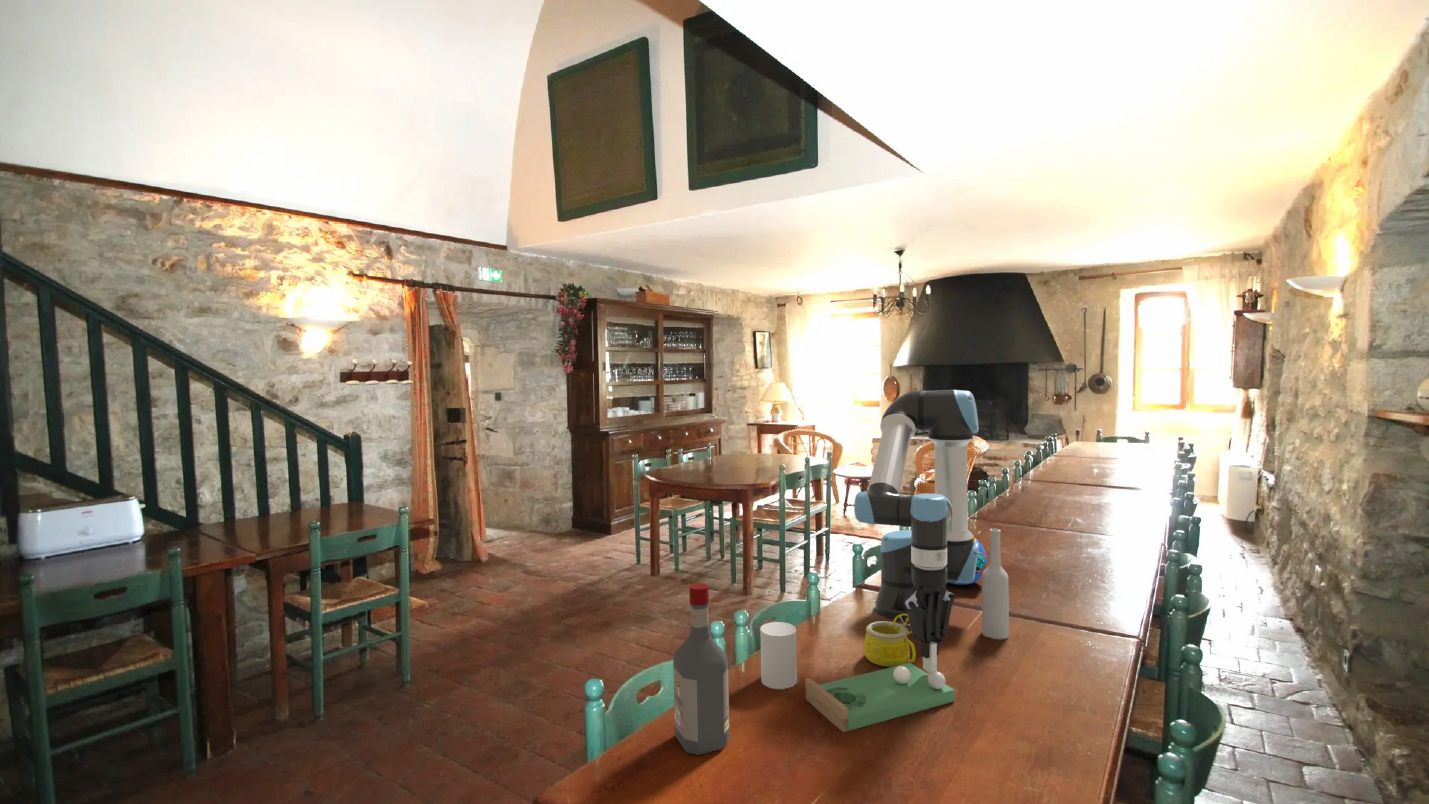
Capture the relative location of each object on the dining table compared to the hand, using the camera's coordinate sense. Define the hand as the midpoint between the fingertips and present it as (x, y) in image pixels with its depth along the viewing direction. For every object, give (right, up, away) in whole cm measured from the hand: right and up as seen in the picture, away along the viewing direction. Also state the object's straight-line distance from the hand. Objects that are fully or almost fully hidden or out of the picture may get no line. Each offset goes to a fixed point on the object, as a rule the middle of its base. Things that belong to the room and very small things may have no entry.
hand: (929, 670), depth 141 cm
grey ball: (-1, 0, -6) cm, 6 cm away
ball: (-7, 0, -3) cm, 8 cm away
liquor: (-50, -6, -19) cm, 54 cm away
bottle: (+27, -2, +28) cm, 39 cm away
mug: (-5, -4, +13) cm, 15 cm away
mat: (-13, -4, -5) cm, 14 cm away
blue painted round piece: (+33, -1, +69) cm, 77 cm away
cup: (-33, -4, +5) cm, 34 cm away
